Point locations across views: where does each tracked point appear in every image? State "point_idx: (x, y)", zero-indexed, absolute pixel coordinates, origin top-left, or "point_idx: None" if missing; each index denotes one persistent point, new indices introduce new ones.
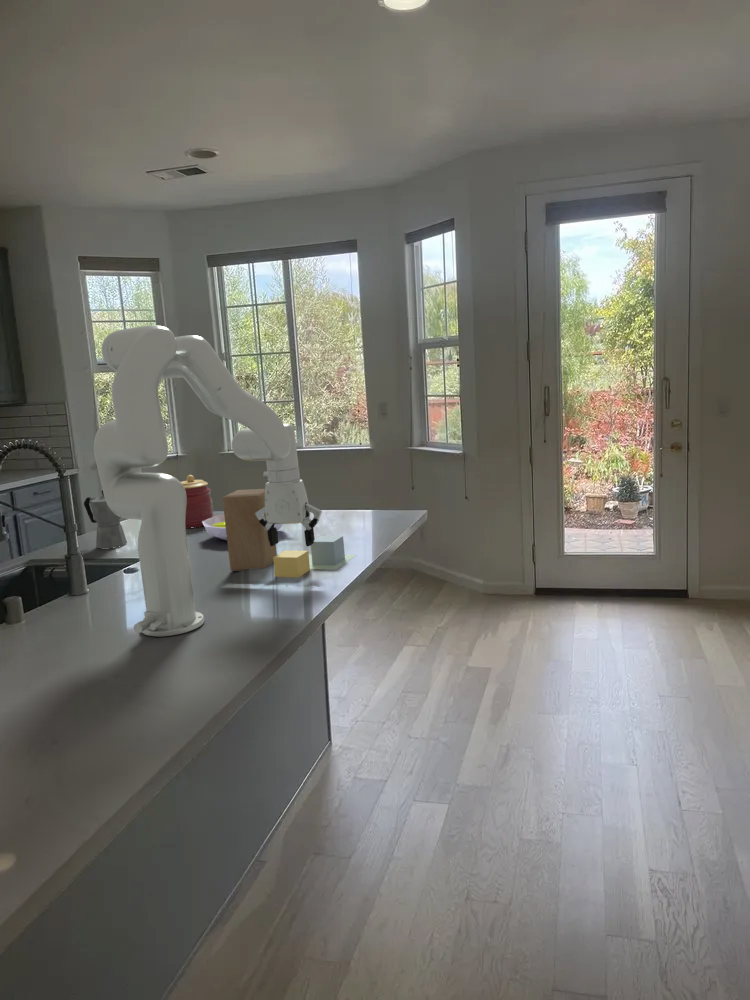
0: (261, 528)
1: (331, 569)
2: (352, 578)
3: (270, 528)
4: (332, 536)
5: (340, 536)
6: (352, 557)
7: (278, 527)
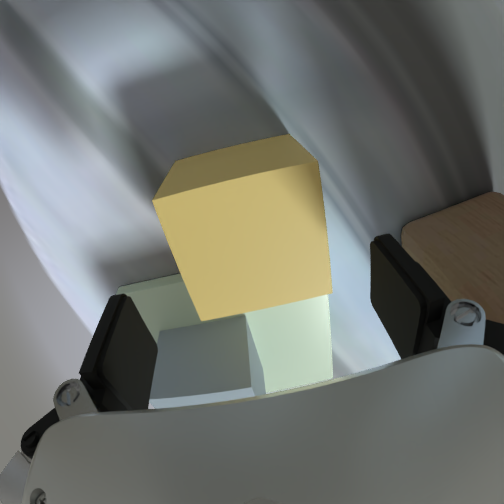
0: None
1: (131, 291)
2: (39, 259)
3: (438, 329)
4: None
5: None
6: None
7: None
